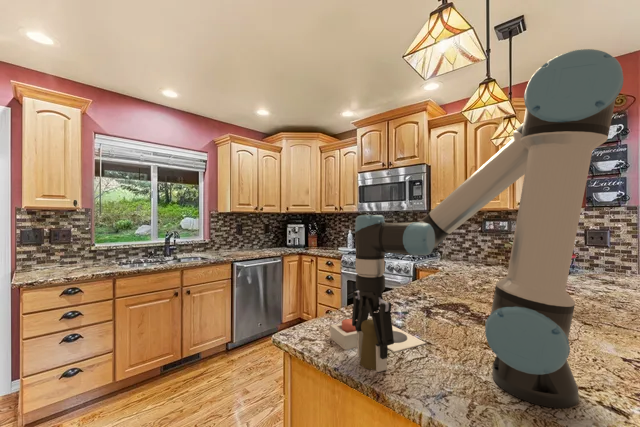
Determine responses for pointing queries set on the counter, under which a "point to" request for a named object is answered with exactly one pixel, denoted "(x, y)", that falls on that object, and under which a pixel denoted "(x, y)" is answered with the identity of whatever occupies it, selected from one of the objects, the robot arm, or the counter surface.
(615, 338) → the counter surface
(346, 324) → the button
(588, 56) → the robot arm
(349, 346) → the button housing
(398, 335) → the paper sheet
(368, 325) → the brown pepper grinder
